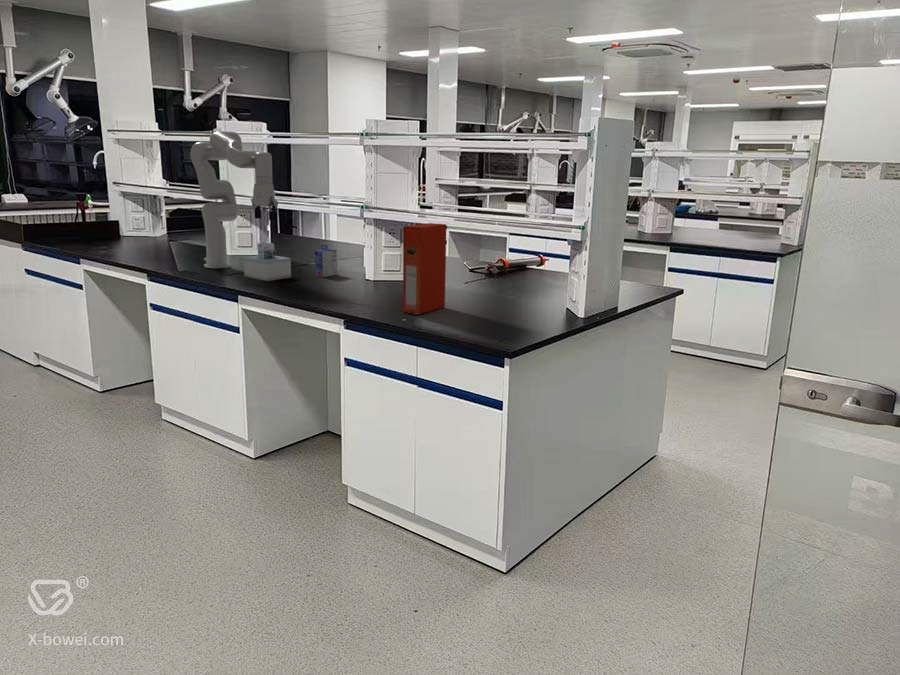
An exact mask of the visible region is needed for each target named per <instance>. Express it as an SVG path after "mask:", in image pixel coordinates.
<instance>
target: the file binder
mask: <svg viewBox="0 0 900 675" xmlns="http://www.w3.org/2000/svg"><path fill="white" fill-rule="evenodd" d="M402 228H403V232H402V234H403V235H402V236H403V237H402V238H403V239H402V240H403V243H402V245H403V246H402V247H403V248H402V250H403V252H402V254H403V256H402V258H403V260H402V264H403V265H402V268H403V269H402V274H403V275H402V277H403V278H402V280H403V281H402V282H403V285H402V288H403V289H402V292H403V293H402V313H403V312H410V313H418V314H422V313H425V312H428V313H430V312H429V311H431V312H433V311H432V310H434V311H436V310H435V309H437V310H439V309H438V308H440V309H443V308H445V307H446V267H447V266H446V262H447V261H446V259H447V223H446V224H445V223H433V222H429V223H428V222H427V223H420V224H414V225H411V224H410V225H404V226H403V227H402ZM442 307H443V308H442ZM425 314H426V313H425ZM422 315H423V314H422Z"/></svg>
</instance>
